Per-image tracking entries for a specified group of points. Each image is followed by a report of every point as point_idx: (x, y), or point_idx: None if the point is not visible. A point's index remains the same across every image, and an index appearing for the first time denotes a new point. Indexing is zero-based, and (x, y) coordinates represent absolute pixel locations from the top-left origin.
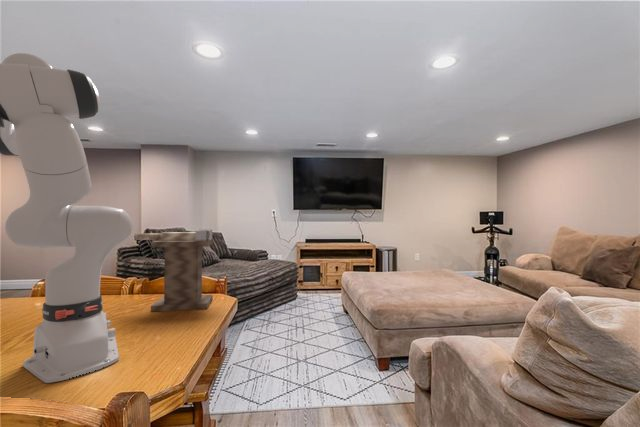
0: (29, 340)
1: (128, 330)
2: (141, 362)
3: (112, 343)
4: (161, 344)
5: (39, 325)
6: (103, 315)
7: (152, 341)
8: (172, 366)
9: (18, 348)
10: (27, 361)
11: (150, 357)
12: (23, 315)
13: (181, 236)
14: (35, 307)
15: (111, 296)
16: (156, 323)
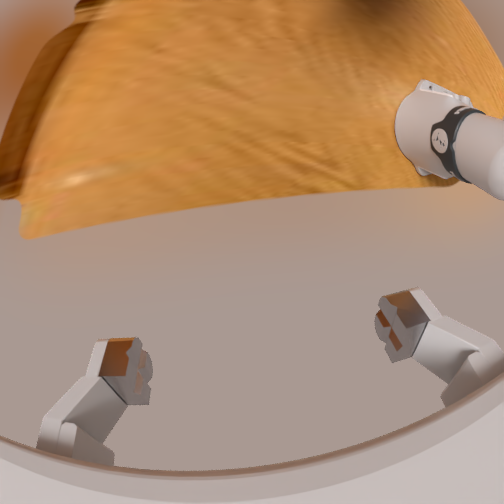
0: (335, 166)
1: (394, 49)
2: (481, 90)
3: (442, 91)
4: (461, 52)
5: (451, 176)
6: (467, 106)
7: (449, 52)
8: (498, 78)
9: (359, 178)
10: (426, 172)
11: (478, 79)
12: (155, 189)
13: None
14: (101, 179)
15: (94, 39)
16: (390, 9)
